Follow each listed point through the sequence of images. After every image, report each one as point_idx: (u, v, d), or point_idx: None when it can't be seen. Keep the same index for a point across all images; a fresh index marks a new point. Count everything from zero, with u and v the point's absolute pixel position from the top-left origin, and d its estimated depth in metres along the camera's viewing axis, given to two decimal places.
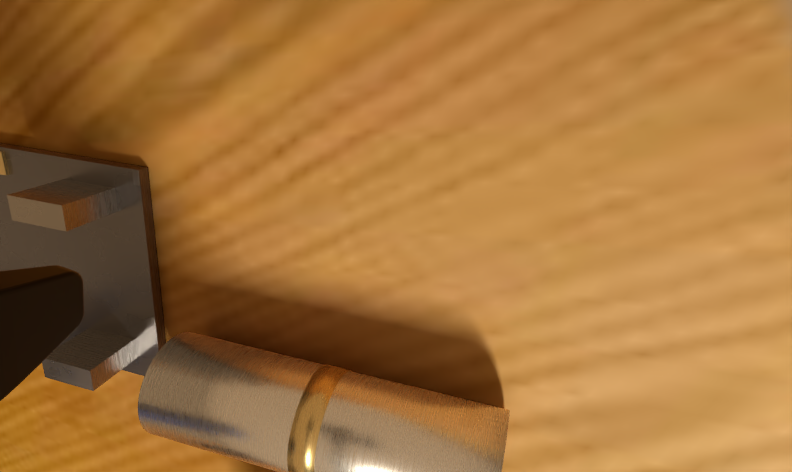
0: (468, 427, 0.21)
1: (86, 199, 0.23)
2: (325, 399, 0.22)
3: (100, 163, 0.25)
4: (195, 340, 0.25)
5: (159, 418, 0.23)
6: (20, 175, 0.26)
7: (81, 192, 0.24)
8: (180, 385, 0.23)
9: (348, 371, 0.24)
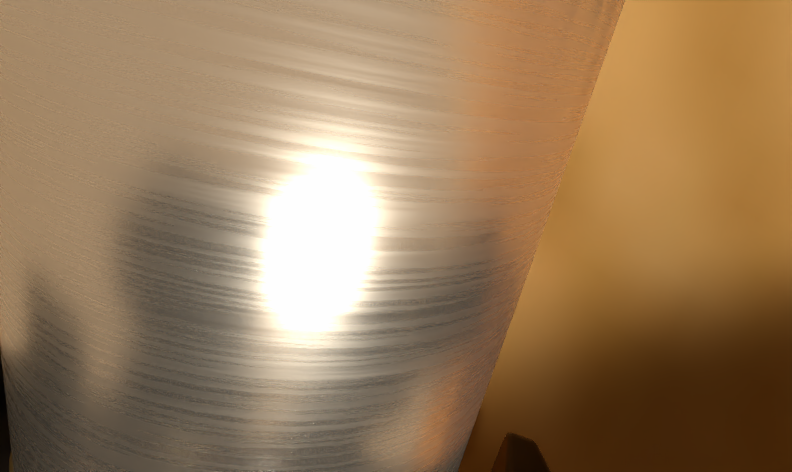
0: None
1: None
2: None
3: None
4: None
5: None
6: None
7: None
8: None
9: None
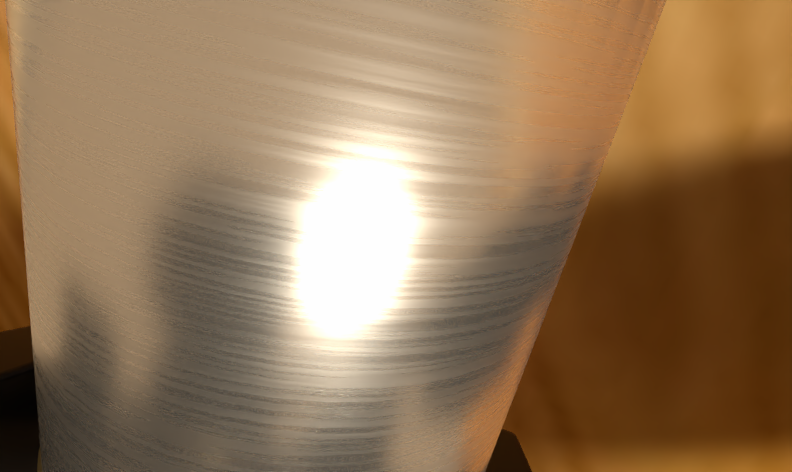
0: None
1: None
2: None
3: None
4: None
5: None
6: None
7: None
8: None
9: None
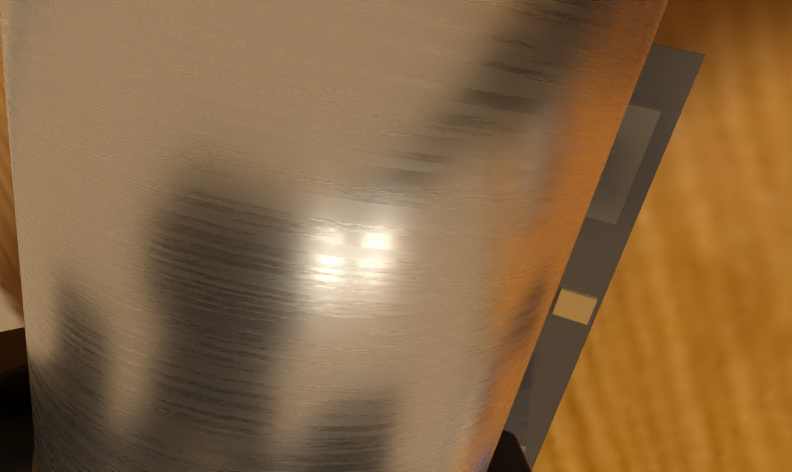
0: None
1: None
2: None
3: None
4: None
5: None
6: None
7: None
8: None
9: None
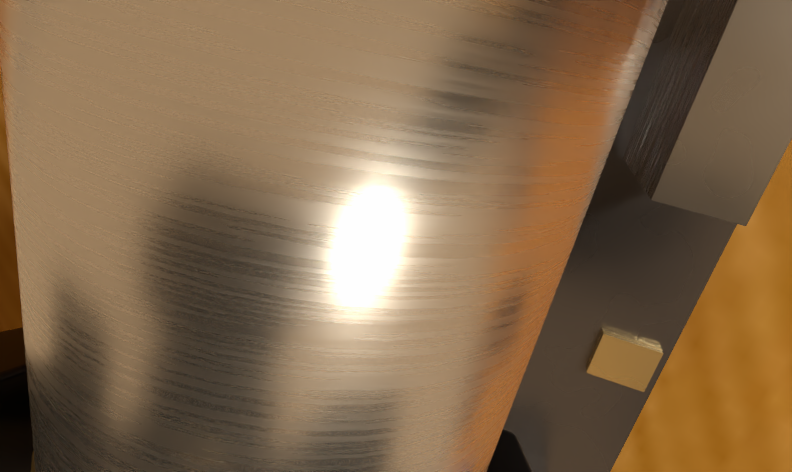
0: None
1: None
2: None
3: None
4: None
5: None
6: None
7: None
8: None
9: None
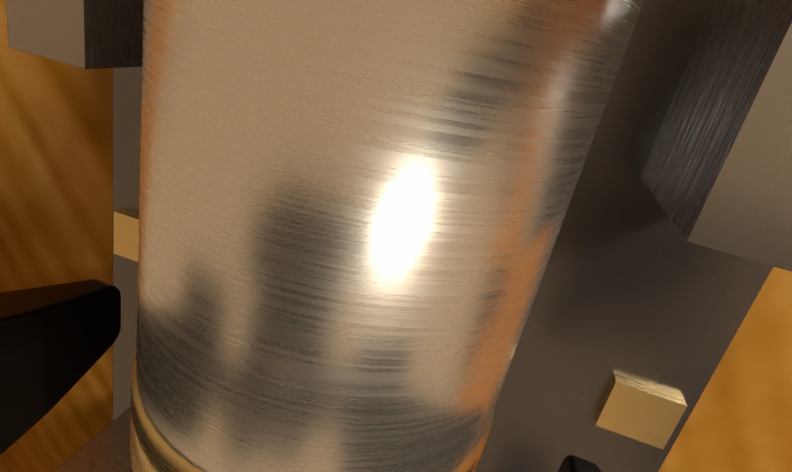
0: None
1: None
2: None
3: None
4: None
5: None
6: None
7: None
8: None
9: None
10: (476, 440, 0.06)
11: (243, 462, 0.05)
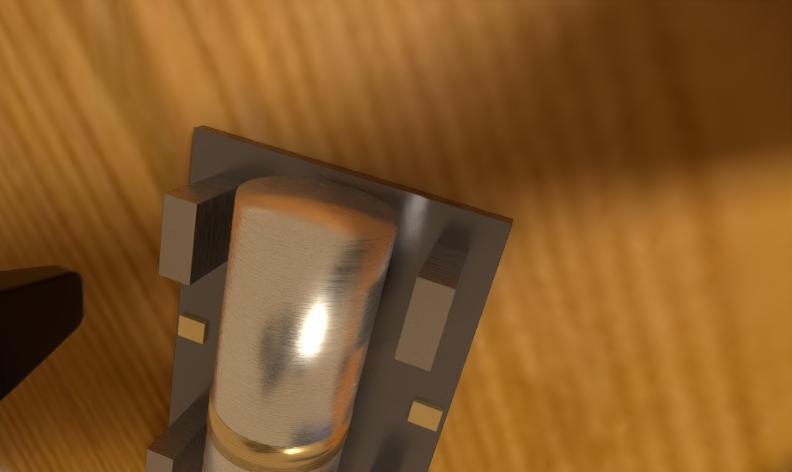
0: None
1: (191, 185, 0.18)
2: (210, 393, 0.18)
3: (190, 183, 0.20)
4: None
5: None
6: (207, 307, 0.22)
7: None
8: None
9: None
10: (340, 424, 0.17)
11: (258, 433, 0.16)
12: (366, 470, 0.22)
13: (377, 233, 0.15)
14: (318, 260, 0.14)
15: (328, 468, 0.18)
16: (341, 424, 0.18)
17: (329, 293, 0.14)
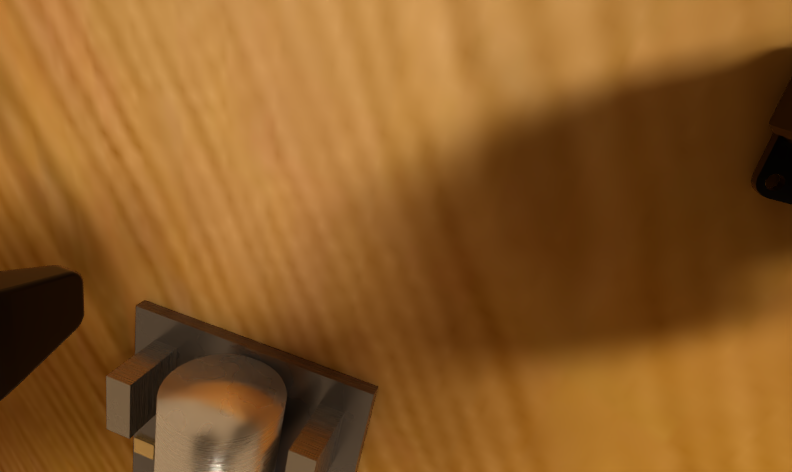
0: None
1: (130, 359, 0.23)
2: None
3: (136, 344, 0.25)
4: None
5: None
6: (155, 432, 0.27)
7: None
8: None
9: None
10: None
11: None
12: None
13: (264, 422, 0.20)
14: (219, 454, 0.19)
15: None
16: None
17: None
